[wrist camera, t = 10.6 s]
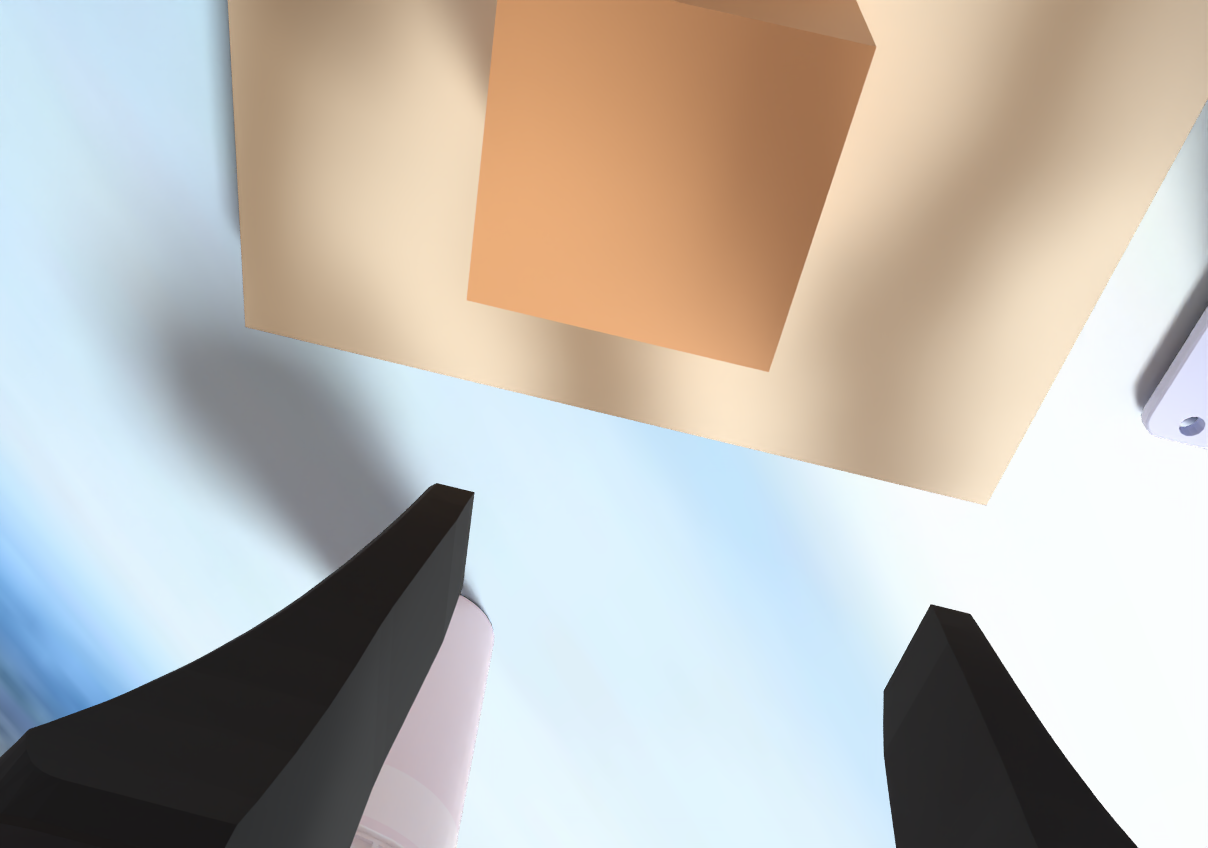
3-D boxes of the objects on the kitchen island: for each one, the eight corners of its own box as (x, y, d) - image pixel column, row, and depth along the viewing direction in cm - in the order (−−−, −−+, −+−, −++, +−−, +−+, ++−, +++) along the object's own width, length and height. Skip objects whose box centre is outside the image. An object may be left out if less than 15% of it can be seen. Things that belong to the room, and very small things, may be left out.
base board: (1315, -215, 15) (1381, -220, 13) (971, 456, 23) (986, 505, 21) (263, -437, 16) (202, -469, 14) (282, 291, 23) (245, 327, 22)
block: (851, -11, 16) (876, 46, 12) (771, 251, 19) (769, 372, 15) (572, -74, 16) (500, -38, 12) (534, 196, 19) (466, 300, 15)
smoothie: (304, 599, 30) (4, 1089, 18) (444, 523, 27) (193, 1046, 15) (434, 717, 32) (240, 1219, 20) (575, 658, 29) (442, 1202, 18)
